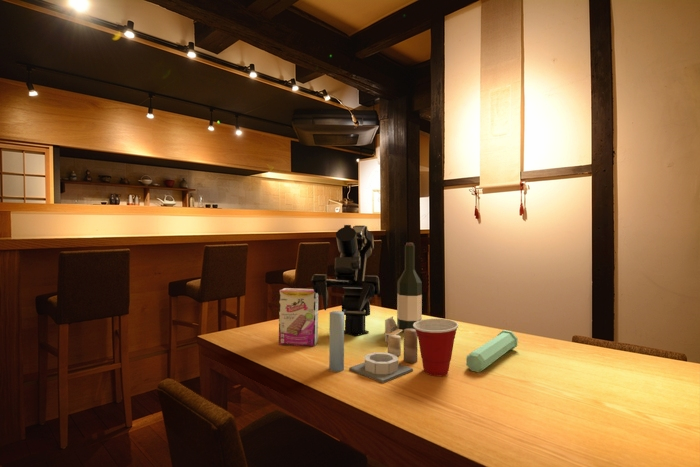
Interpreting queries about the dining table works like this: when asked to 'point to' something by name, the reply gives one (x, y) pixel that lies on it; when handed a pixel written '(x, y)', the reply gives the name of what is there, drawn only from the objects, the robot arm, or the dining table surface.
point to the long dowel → (336, 341)
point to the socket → (381, 367)
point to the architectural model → (391, 328)
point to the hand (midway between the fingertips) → (342, 310)
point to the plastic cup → (436, 344)
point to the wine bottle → (409, 292)
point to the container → (491, 351)
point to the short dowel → (394, 345)
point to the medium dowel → (410, 345)
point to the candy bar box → (298, 317)
